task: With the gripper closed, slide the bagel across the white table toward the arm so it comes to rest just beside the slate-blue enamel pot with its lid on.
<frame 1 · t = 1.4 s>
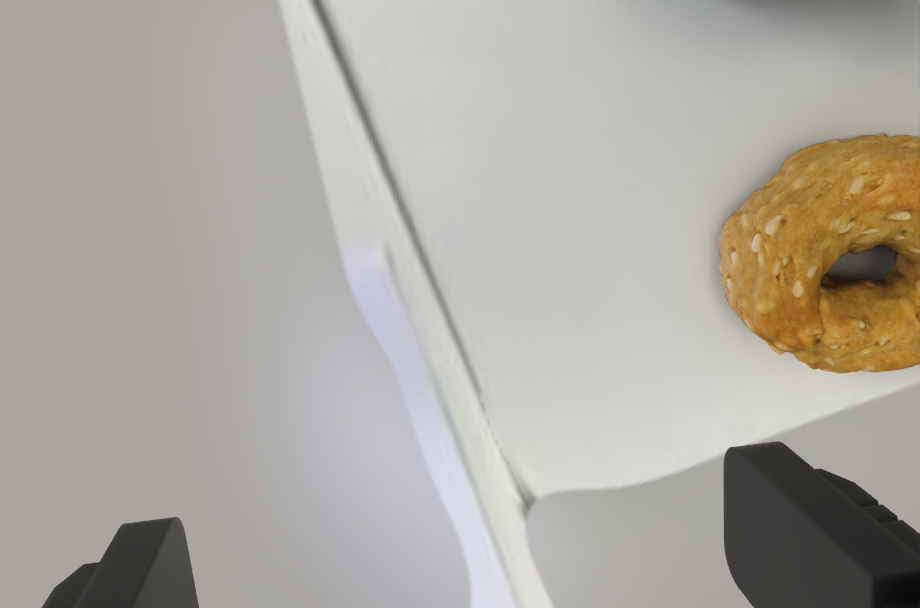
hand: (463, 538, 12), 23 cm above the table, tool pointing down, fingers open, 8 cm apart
bagel: (837, 248, 35), on the table
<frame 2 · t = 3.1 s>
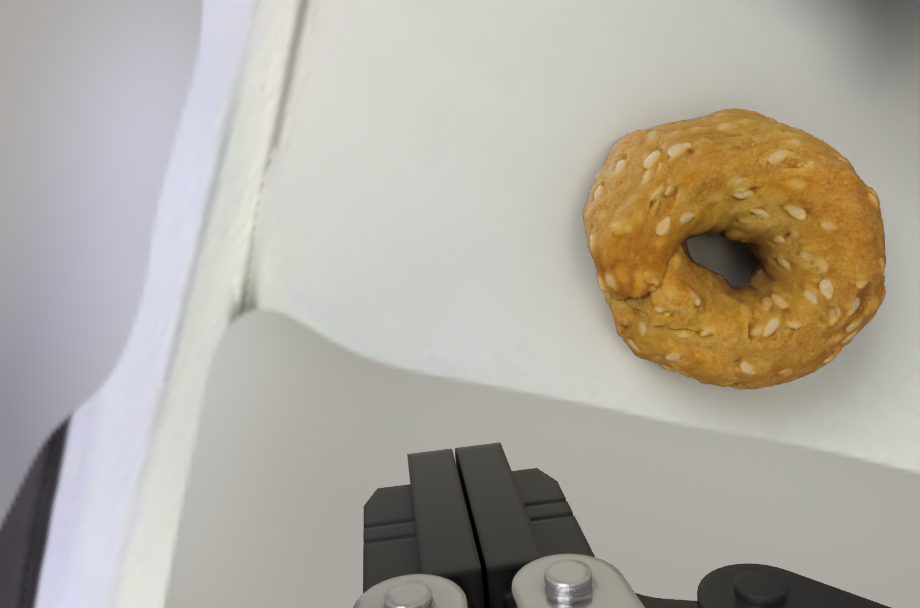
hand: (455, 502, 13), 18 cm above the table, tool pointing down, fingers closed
bagel: (704, 242, 32), on the table
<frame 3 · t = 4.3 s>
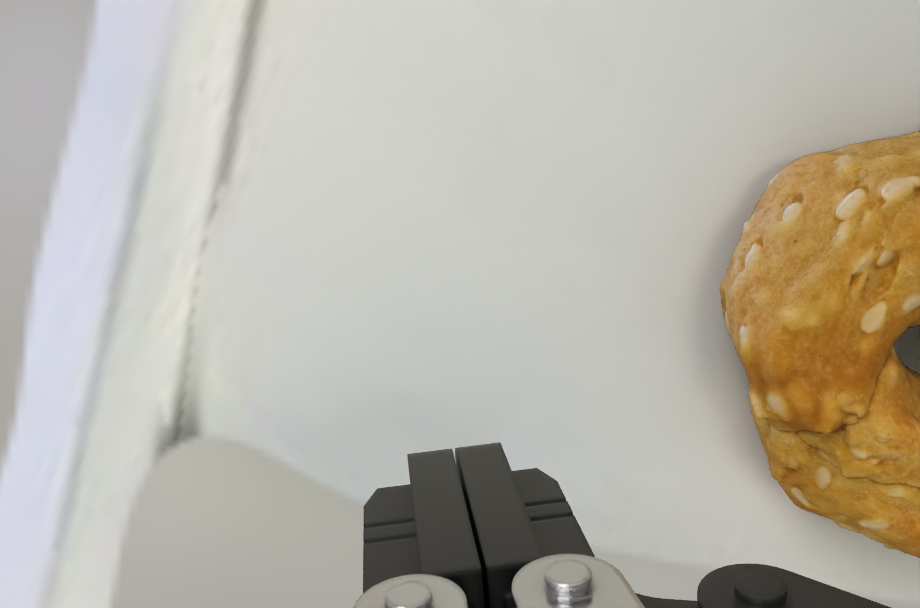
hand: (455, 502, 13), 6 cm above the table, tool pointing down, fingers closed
bagel: (895, 323, 20), on the table
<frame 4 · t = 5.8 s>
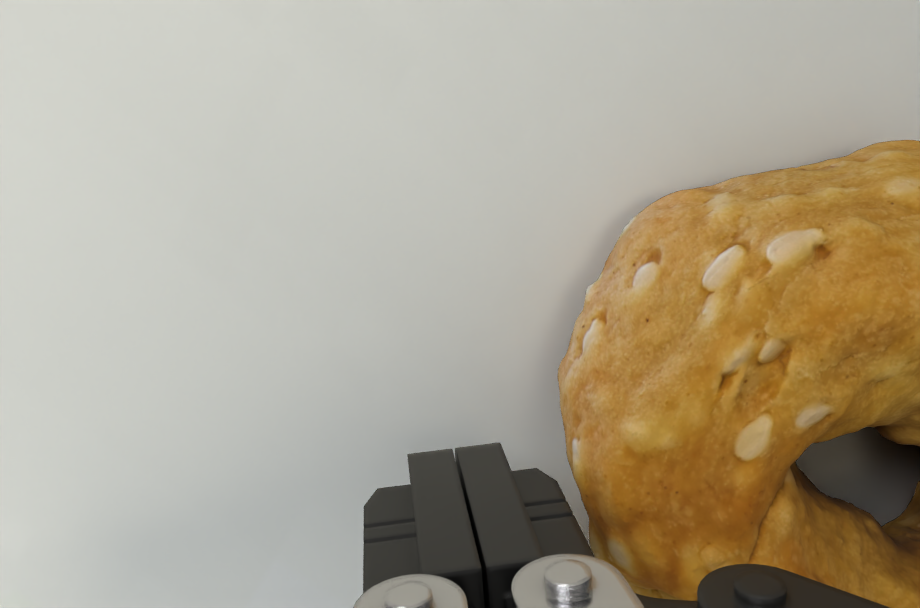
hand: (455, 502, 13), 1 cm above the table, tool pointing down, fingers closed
bagel: (813, 413, 15), on the table, touching gripper
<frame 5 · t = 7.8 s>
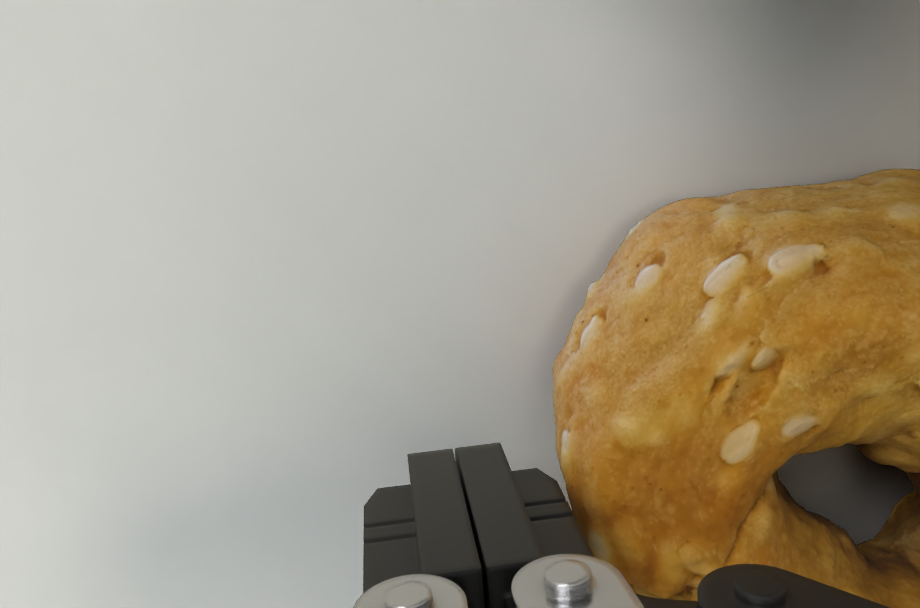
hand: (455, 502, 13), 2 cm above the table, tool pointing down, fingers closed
bagel: (797, 430, 15), on the table, touching gripper
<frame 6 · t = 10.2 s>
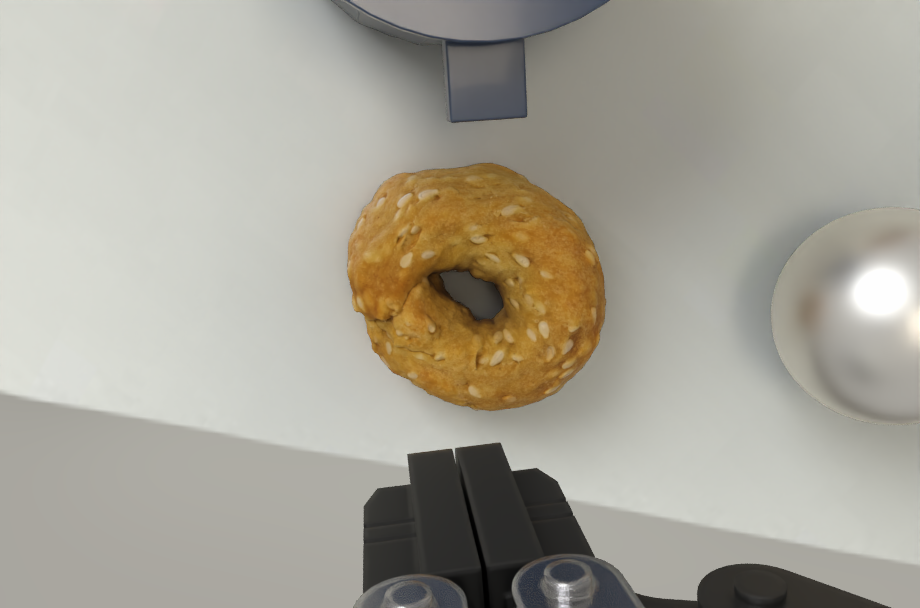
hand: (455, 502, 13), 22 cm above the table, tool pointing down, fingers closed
bagel: (467, 276, 36), on the table
ghost figurine: (830, 287, 38), on the table
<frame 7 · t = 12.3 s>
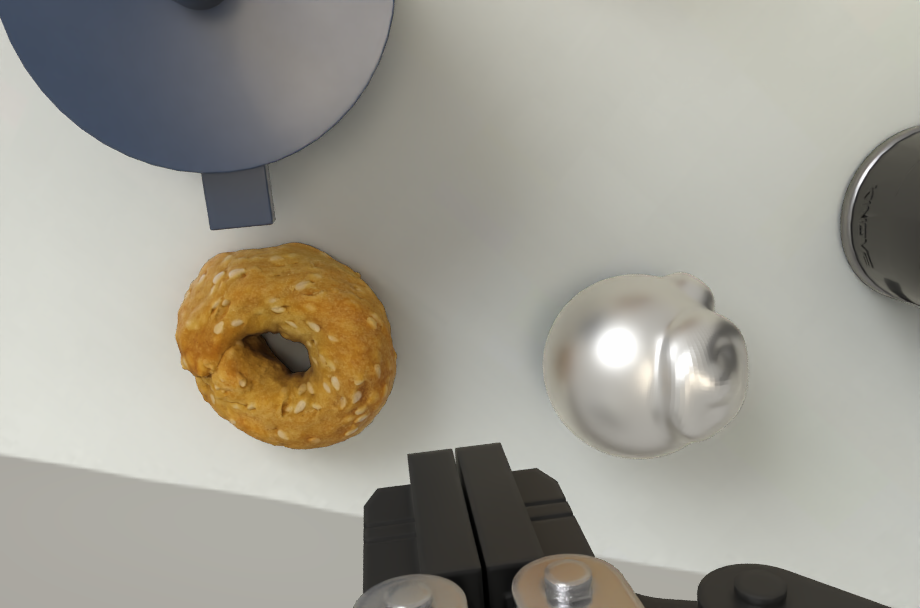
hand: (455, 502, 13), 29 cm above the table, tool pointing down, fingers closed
bagel: (291, 334, 42), on the table
pot: (240, 6, 38), on the table
ghost figurine: (614, 337, 44), on the table
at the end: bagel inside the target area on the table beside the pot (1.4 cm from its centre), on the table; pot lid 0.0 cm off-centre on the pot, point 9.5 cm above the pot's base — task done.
